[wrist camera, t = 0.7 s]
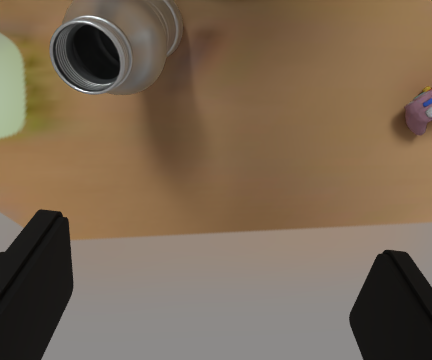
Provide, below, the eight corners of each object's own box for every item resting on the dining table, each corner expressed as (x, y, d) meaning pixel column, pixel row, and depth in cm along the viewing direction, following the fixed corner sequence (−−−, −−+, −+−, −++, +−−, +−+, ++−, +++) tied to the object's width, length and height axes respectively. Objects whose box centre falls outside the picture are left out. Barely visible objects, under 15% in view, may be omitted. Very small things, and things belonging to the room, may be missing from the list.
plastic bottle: (140, -33, 33) (51, -52, 15) (198, 16, 35) (178, 49, 17) (106, 26, 35) (-5, 68, 18) (162, 69, 37) (112, 144, 20)
